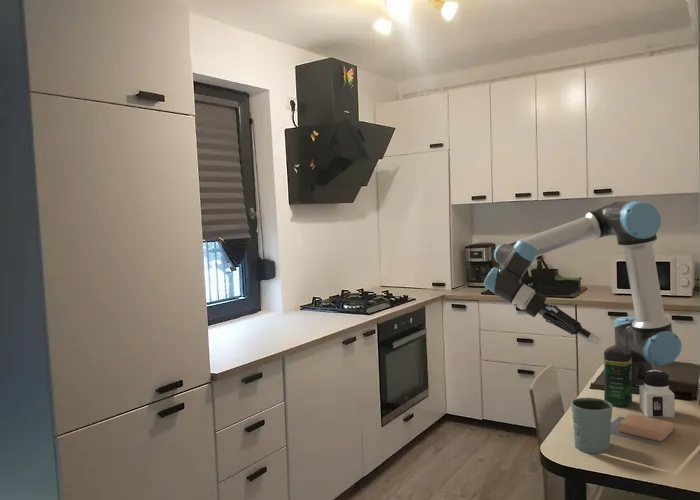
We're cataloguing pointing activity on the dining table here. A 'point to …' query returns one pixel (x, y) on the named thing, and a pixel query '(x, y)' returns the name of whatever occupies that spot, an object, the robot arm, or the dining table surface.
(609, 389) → the coffee jar
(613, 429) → the mat
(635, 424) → the salmon orange rectangular block
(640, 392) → the container
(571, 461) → the dining table surface
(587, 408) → the teal planter pot
